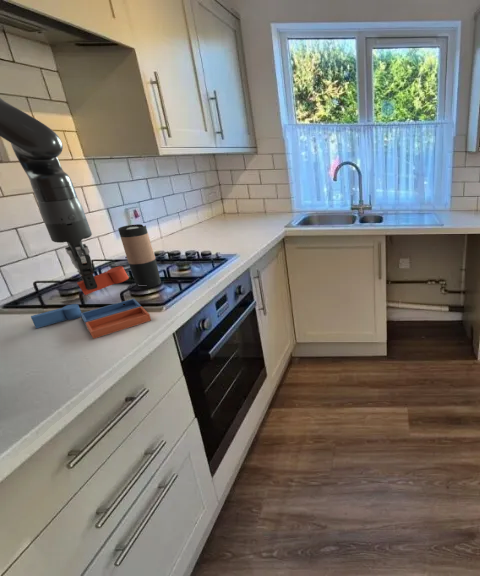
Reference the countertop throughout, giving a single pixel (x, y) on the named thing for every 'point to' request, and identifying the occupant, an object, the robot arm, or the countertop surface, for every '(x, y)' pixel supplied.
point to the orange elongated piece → (106, 279)
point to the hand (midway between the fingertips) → (91, 287)
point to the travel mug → (140, 255)
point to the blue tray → (109, 310)
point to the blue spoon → (56, 315)
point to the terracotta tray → (117, 322)
